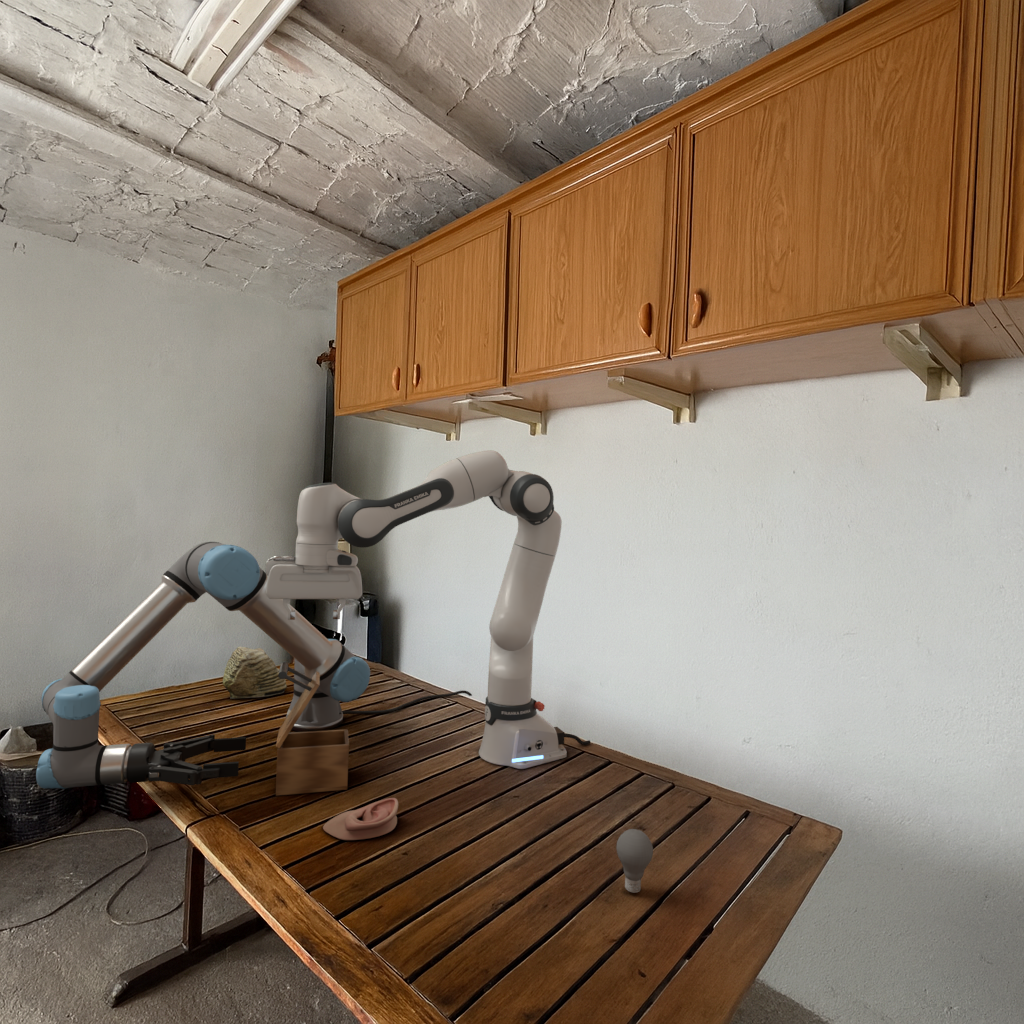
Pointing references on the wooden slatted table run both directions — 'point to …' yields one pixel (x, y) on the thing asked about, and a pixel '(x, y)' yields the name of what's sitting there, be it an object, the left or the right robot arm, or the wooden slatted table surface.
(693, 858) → the wooden slatted table surface
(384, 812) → the anatomical model
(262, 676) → the fossil
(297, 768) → the chest
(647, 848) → the light bulb
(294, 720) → the lid
